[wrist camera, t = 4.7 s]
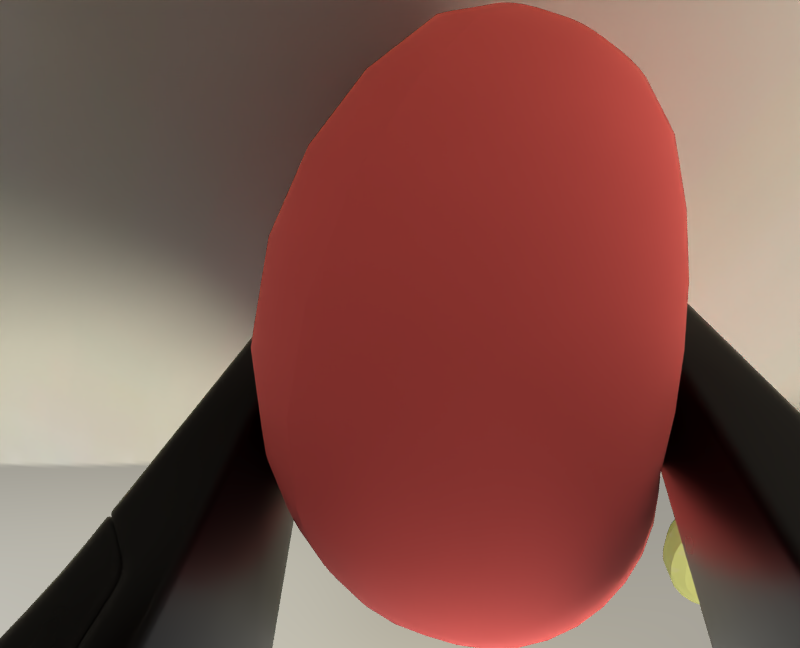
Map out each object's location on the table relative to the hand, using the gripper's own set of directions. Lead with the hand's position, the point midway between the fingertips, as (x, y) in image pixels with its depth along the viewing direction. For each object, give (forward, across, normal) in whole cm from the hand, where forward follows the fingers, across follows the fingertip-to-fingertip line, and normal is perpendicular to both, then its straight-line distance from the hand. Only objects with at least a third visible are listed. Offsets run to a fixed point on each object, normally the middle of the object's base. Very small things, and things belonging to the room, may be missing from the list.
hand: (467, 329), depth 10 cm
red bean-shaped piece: (+1, 0, 0) cm, 1 cm away
